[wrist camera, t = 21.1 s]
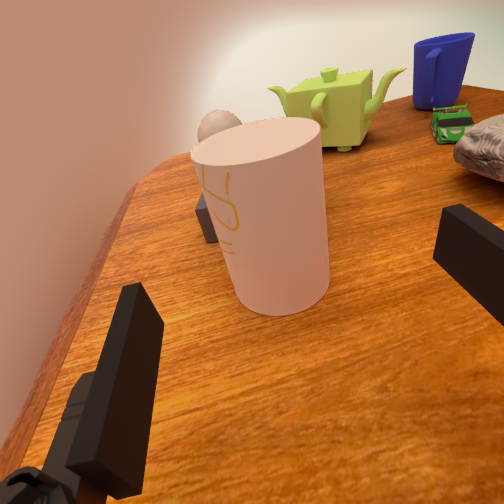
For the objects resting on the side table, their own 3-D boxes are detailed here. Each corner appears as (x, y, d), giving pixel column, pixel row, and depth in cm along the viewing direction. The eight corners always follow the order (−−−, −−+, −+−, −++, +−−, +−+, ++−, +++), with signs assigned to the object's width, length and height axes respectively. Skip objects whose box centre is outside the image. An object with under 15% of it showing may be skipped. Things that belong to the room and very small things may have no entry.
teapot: (275, 145, 54) (265, 78, 47) (339, 124, 56) (337, 57, 50) (322, 169, 41) (317, 84, 35) (401, 140, 44) (409, 55, 38)
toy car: (477, 142, 38) (481, 124, 37) (434, 145, 40) (437, 128, 39) (465, 119, 45) (468, 103, 44) (429, 122, 47) (431, 107, 46)
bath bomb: (206, 156, 57) (192, 111, 52) (247, 146, 56) (237, 100, 52) (205, 171, 50) (189, 122, 46) (251, 160, 50) (240, 109, 45)
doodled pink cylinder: (234, 259, 29) (196, 134, 22) (317, 242, 29) (305, 109, 22) (235, 324, 23) (182, 177, 16) (342, 305, 22) (337, 143, 15)
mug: (395, 121, 51) (400, 52, 45) (415, 100, 58) (421, 38, 52) (451, 120, 46) (465, 43, 40) (465, 97, 53) (479, 29, 47)
